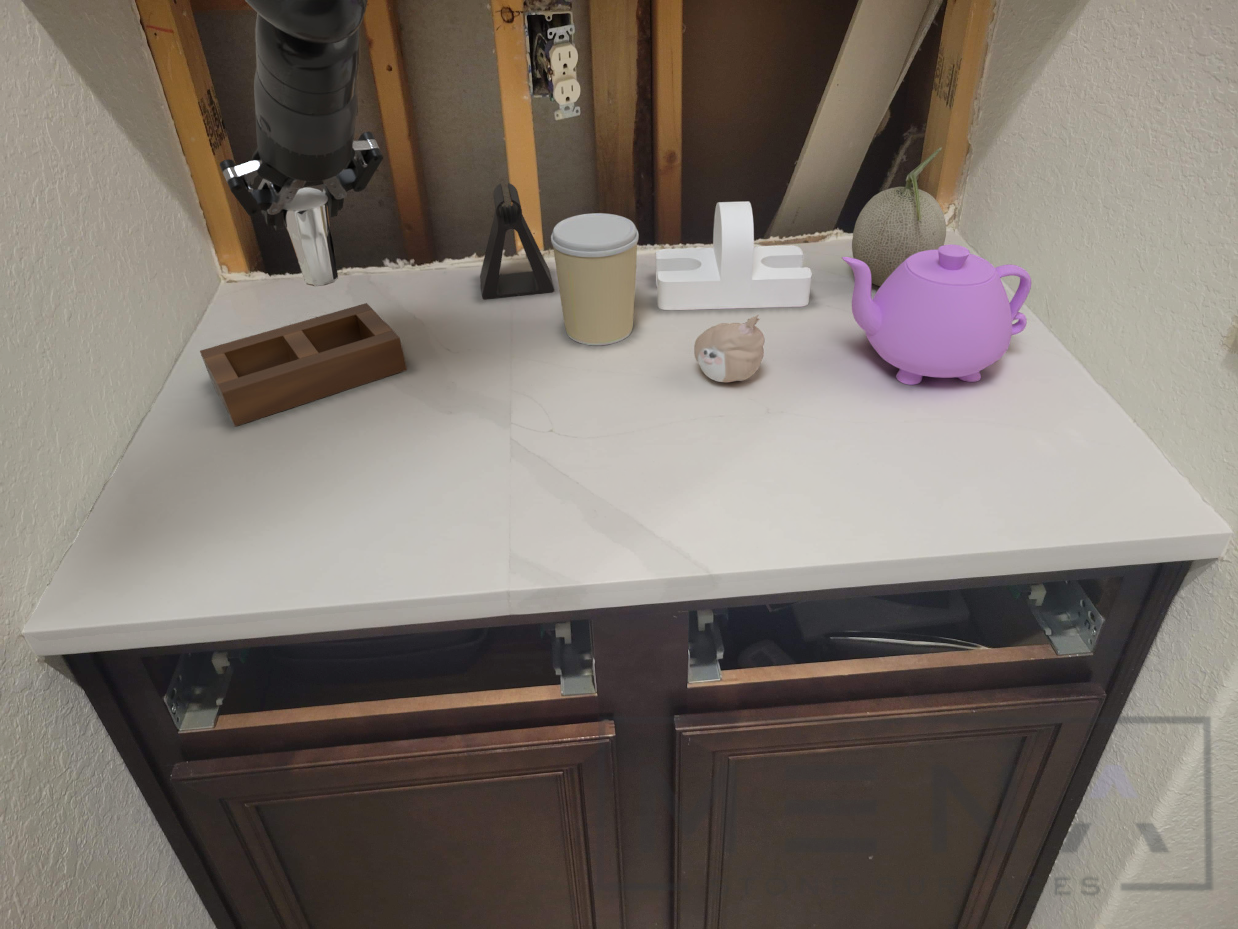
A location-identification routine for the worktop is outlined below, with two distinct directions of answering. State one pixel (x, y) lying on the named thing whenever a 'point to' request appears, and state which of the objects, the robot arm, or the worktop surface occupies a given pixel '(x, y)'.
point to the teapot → (940, 313)
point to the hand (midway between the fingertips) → (302, 214)
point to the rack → (303, 362)
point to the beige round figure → (730, 350)
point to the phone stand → (490, 271)
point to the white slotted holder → (732, 269)
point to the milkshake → (312, 235)
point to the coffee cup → (596, 276)
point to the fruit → (898, 227)
